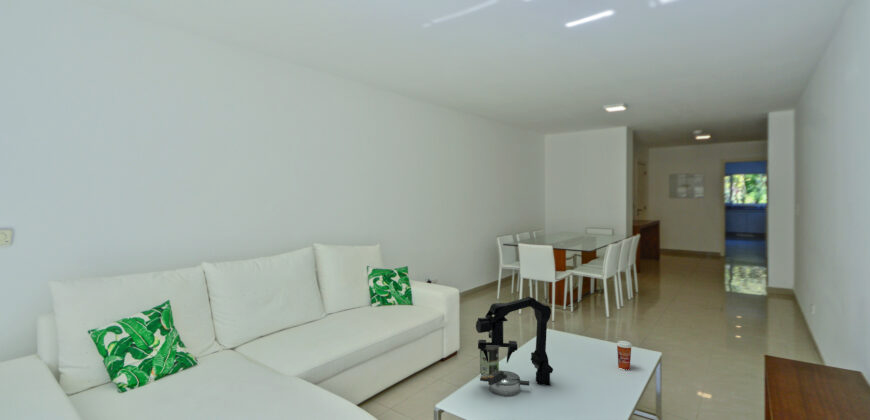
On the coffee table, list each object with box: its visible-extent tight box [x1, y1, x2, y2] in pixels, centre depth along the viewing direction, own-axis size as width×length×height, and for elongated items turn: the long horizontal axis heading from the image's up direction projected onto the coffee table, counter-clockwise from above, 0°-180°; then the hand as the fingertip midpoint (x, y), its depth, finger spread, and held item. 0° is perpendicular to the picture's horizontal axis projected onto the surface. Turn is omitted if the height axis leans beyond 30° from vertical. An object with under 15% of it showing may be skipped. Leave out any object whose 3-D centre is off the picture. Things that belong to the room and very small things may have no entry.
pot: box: [479, 375, 530, 398], centre depth 200 cm, size 24×15×5 cm, turn 76°
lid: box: [487, 370, 521, 386], centre depth 198 cm, size 19×15×5 cm
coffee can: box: [479, 346, 500, 377], centre depth 219 cm, size 10×10×14 cm
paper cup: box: [616, 340, 633, 370], centre depth 224 cm, size 8×8×14 cm
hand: (497, 362), depth 199 cm, fingers open, 9 cm apart
